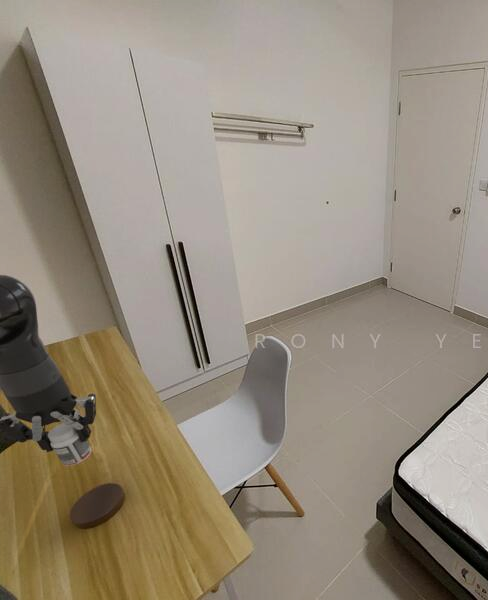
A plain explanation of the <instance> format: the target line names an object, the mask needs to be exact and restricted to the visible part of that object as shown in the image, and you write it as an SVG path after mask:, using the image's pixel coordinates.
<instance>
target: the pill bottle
mask: <svg viewBox="0 0 488 600" xmlns="http://www.w3.org/2000/svg"><path fill="white" fill-rule="evenodd" d="M48 437H49V439H50V441H51V442H50V445H51V447H52V448H53V452H54V453H55V455H56V456H57V458H58V459H59V461H60V463H61V464H62V465H63V466H67V467H71V466H76V465H77V464H80V463H81V462H83V461H85V460H86V459H88V457H89V456H90V455H91V453H92V447H91V446H90V444H89V442H88V440H87V441H85V442H82V441H81V439H80V437H79V435H78V434H77V432H76V429H75V428H74V427H72V426H71V425H66V424H64V423H63V422H62V423H60V424H57V425H56V426H54V427H53V428H51V429H50V430H49V433H48Z"/></svg>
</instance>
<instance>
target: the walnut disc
mask: <svg viewBox="0 0 488 600" xmlns="http://www.w3.org/2000/svg"><path fill="white" fill-rule="evenodd" d="M125 499H126V494H125V491H124V490H123V487H122V486H121V485H120V484H118V483H114V482H107V483H103V484H100V485H98V486H96V487H94V488H92V489H90V490H88V491H87V492H85V493H84V494H83V495H82V496H80V498H78V499H77V500H76V502H75V503H74V504H73V505H72V507H71V509H70V511H69V518H70V520H71V522H72V524H73V525H74V526H75V527H76V528H78V529H82V530H83V529H86V530H87V529H92V528H94V527H97V526H99V525H101V524H103V523H105V522H106V521H108V520H109V519H111V518H112V517H113V516H115V515H116V514H117V513H118V512H119V510H120V509H121V508H122V506H123V504H124V503H125Z"/></svg>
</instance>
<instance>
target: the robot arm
mask: <svg viewBox="0 0 488 600" xmlns="http://www.w3.org/2000/svg"><path fill="white" fill-rule="evenodd" d="M37 310H38V309H37V302H36V299H35V296H34V294H33V292H32V290H31V289H30V288H29V287H28V286H27V284H25V283H24V282H22V281H21V280H20V279H18V278H15V277H14V276H11V275H7V274H6V275H5V274H0V391H1V392H2V394H3V396H4V397H5V398H6V400H7V402H8V403H9V404H10V406H11V407H12V409H13V411H14V413H4V414H3V415H2V417H1V418H0V430H1V431H3V432H5V433H6V434H7V435H9V436H10V437H12V438H13V439H14V440H16V441H17V442H19V443H26V442H27V441H34V442H36V444H37V445H38V446H39V448H40V449H41V451H46V452H47V453H50V452H54V450H53V448H52V447H51V445H50V442H51V441H50V439H49V437H48V433H49V432H50V430H49V431H46V429H47V426H49V425H51V424H54V423H61V422H62V424H63V423H64V424H66V425H71V426H72V427H74V428H75V429H76V432H77V434H78V435H79V437H80V439H81V441H82V442H85V441H87V442H88V440H89V439H90V438H91V435H92V428H91V427H90V425H92V424H94V422H95V420H96V416H97V397H96V394H95V393H90V394H88V395H87V396H83V397H77V395H74V394H73V393H72V392H71V390H70V387H69V386H68V383H67V381H66V380H65V378H64V376H63V374H62V372H61V370H60V369H59V367H58V365H57V363H56V361H55V359H54V358H53V357H52V356H51V354H50V353H49V352H48V350H47V347H46V345H45V344H44V342H43V340H42V339H41V337H40V334H39V322H38V311H37ZM77 405H78V406H80V408H81V409H82V410H84V414H85V416H84V415H83V414H81V412H80V410H79V409H78V408H76V406H77ZM22 421H24V422H28V423H29V424H31V427H29V426H28V425H27V424H25V423H24V422H22Z"/></svg>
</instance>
